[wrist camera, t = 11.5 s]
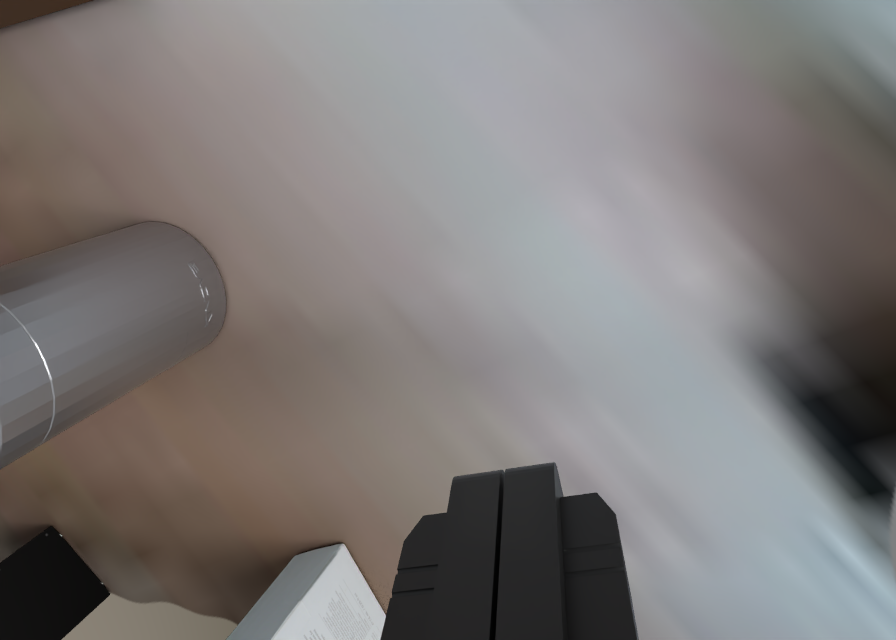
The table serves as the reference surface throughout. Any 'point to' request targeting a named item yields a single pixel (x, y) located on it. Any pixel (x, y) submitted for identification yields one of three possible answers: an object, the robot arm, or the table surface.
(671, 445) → the table surface
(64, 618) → the black bottle
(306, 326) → the table surface
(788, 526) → the table surface
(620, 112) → the table surface
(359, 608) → the skincare box
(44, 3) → the pan flute
